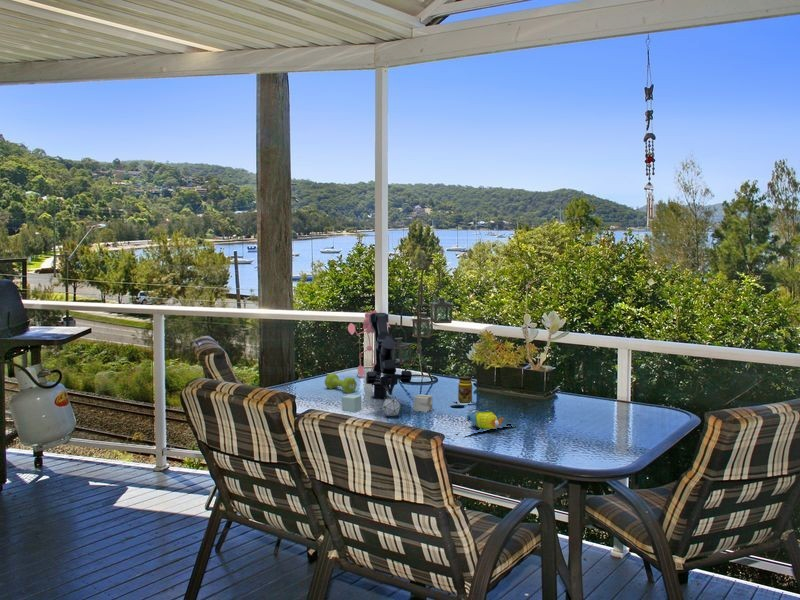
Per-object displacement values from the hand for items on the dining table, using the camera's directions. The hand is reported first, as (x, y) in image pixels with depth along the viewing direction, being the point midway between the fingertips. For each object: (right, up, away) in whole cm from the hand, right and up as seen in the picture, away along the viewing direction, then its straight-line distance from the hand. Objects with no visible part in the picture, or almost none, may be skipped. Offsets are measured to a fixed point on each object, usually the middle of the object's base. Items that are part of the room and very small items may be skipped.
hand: (390, 394), depth 309 cm
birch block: (+14, -8, +12) cm, 20 cm away
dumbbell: (-25, -5, +50) cm, 56 cm away
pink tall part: (-11, -1, +82) cm, 83 cm away
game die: (0, -9, +1) cm, 9 cm away
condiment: (+32, -7, +25) cm, 42 cm away
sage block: (-17, -8, +12) cm, 22 cm away
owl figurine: (+36, -12, -19) cm, 43 cm away
